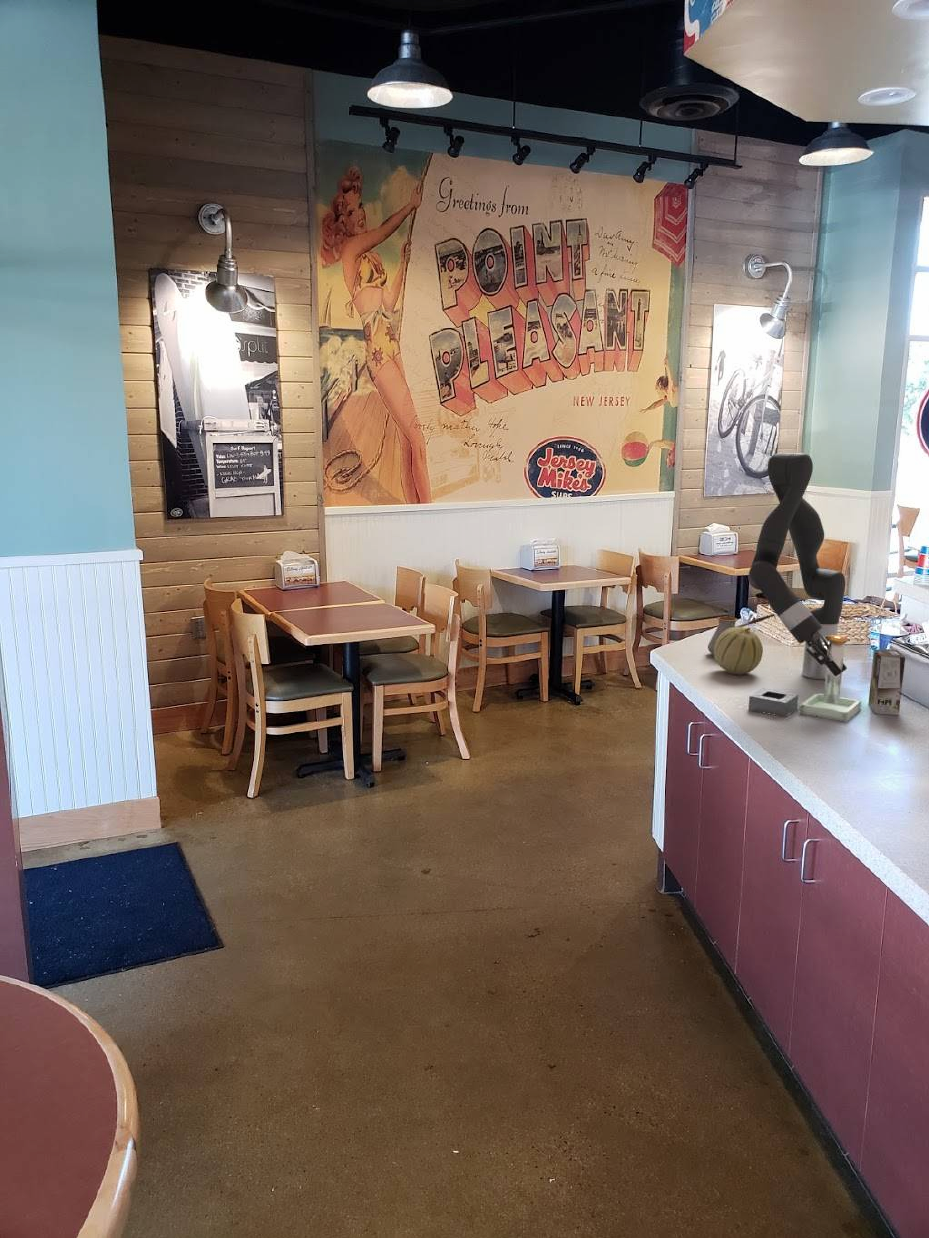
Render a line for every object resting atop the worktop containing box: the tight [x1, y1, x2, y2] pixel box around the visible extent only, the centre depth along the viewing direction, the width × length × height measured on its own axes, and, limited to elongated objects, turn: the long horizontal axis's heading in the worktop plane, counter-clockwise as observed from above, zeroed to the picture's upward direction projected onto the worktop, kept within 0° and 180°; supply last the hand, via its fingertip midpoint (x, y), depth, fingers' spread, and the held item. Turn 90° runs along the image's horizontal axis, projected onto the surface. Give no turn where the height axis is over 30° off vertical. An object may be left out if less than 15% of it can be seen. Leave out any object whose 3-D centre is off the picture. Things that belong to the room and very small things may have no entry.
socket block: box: [748, 687, 799, 718], centre depth 259 cm, size 10×10×4 cm
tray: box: [799, 692, 862, 723], centre depth 258 cm, size 14×12×2 cm
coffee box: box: [868, 648, 906, 716], centre depth 259 cm, size 9×6×16 cm
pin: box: [823, 634, 848, 704], centre depth 256 cm, size 5×5×18 cm
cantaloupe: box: [713, 626, 764, 675], centre depth 294 cm, size 15×15×15 cm
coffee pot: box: [707, 613, 777, 657], centre depth 315 cm, size 21×12×15 cm, turn 82°
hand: (841, 672), depth 255 cm, fingers closed on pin, 4 cm apart
